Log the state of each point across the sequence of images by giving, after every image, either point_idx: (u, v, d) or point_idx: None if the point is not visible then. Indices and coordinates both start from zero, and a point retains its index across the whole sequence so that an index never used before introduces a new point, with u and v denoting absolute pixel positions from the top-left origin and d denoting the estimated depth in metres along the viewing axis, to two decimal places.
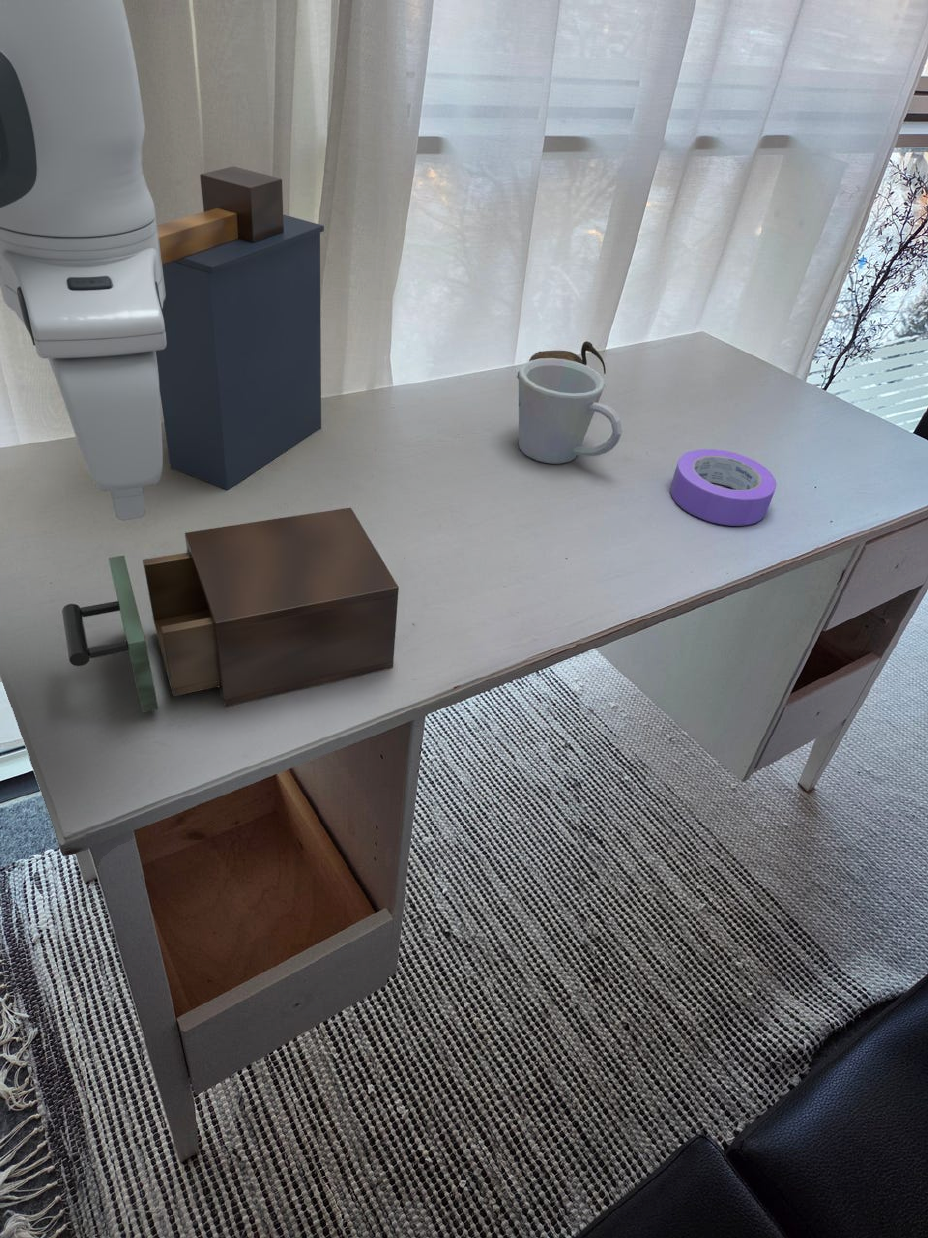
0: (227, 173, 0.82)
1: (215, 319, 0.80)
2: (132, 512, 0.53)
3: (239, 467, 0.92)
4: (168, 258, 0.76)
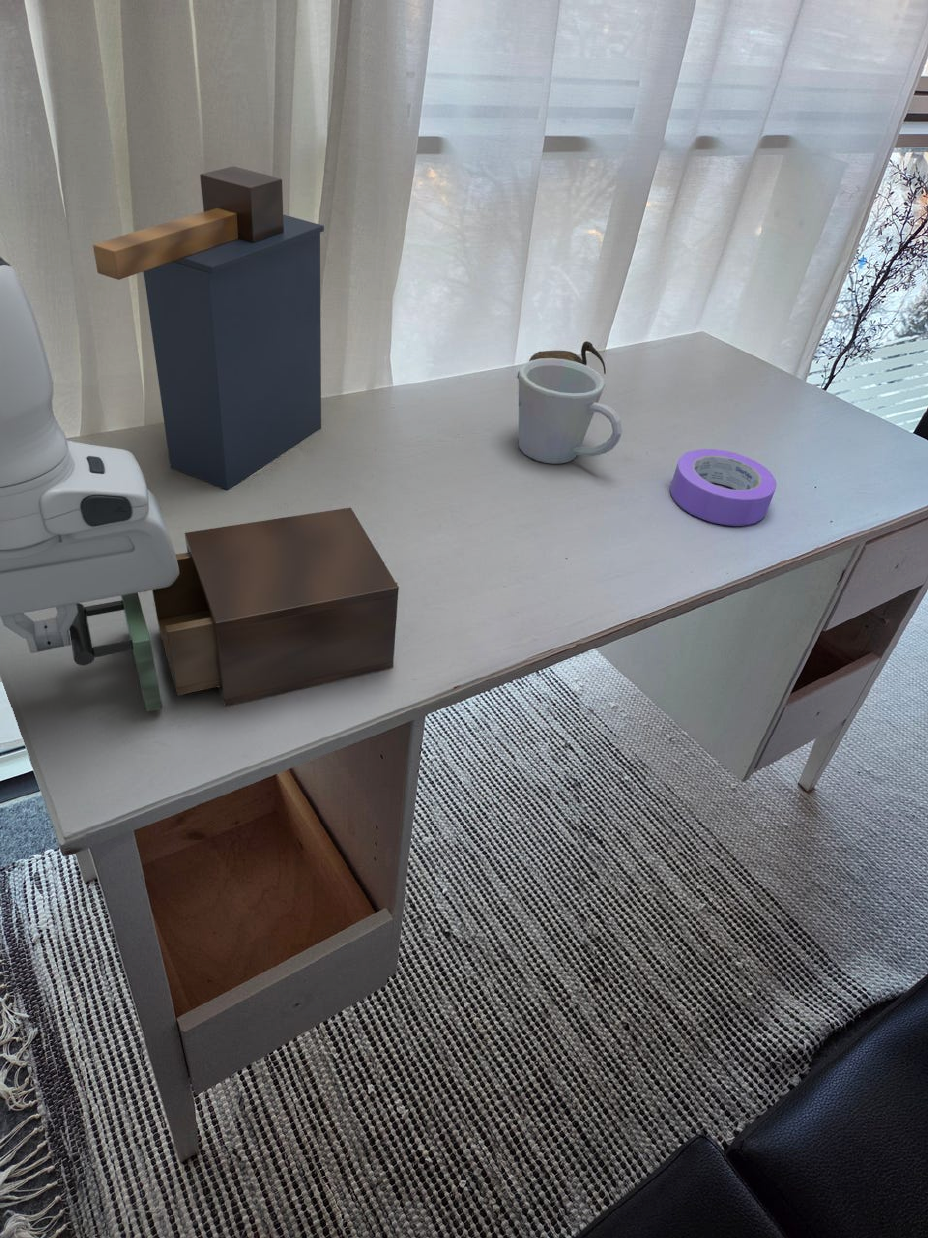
0: (227, 173, 0.82)
1: (215, 319, 0.80)
2: (69, 634, 0.65)
3: (239, 467, 0.92)
4: (168, 258, 0.76)
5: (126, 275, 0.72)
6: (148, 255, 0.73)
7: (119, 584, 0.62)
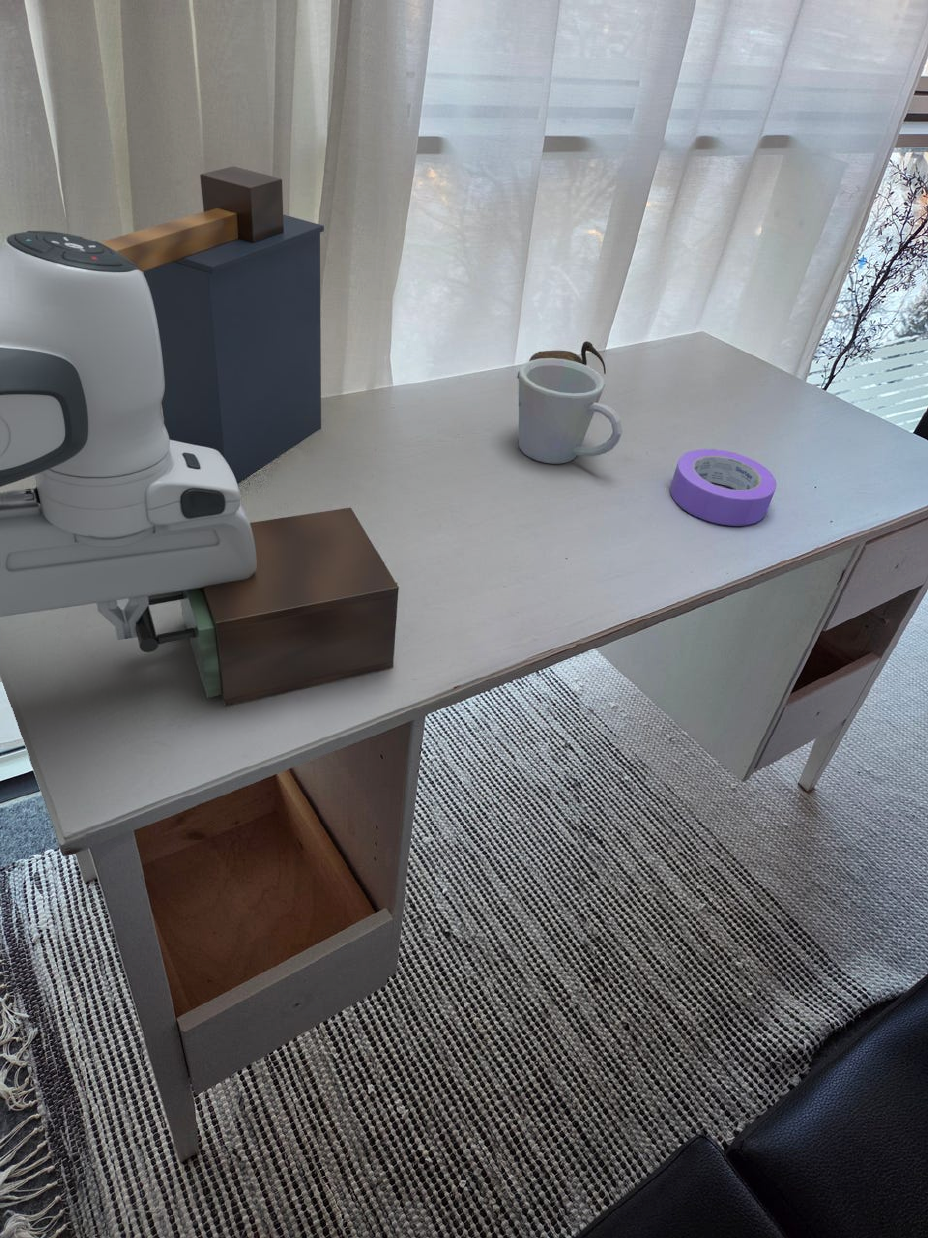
0: (227, 173, 0.82)
1: (215, 319, 0.80)
2: None
3: (239, 467, 0.92)
4: (168, 258, 0.76)
5: None
6: (148, 255, 0.73)
7: (201, 576, 0.64)
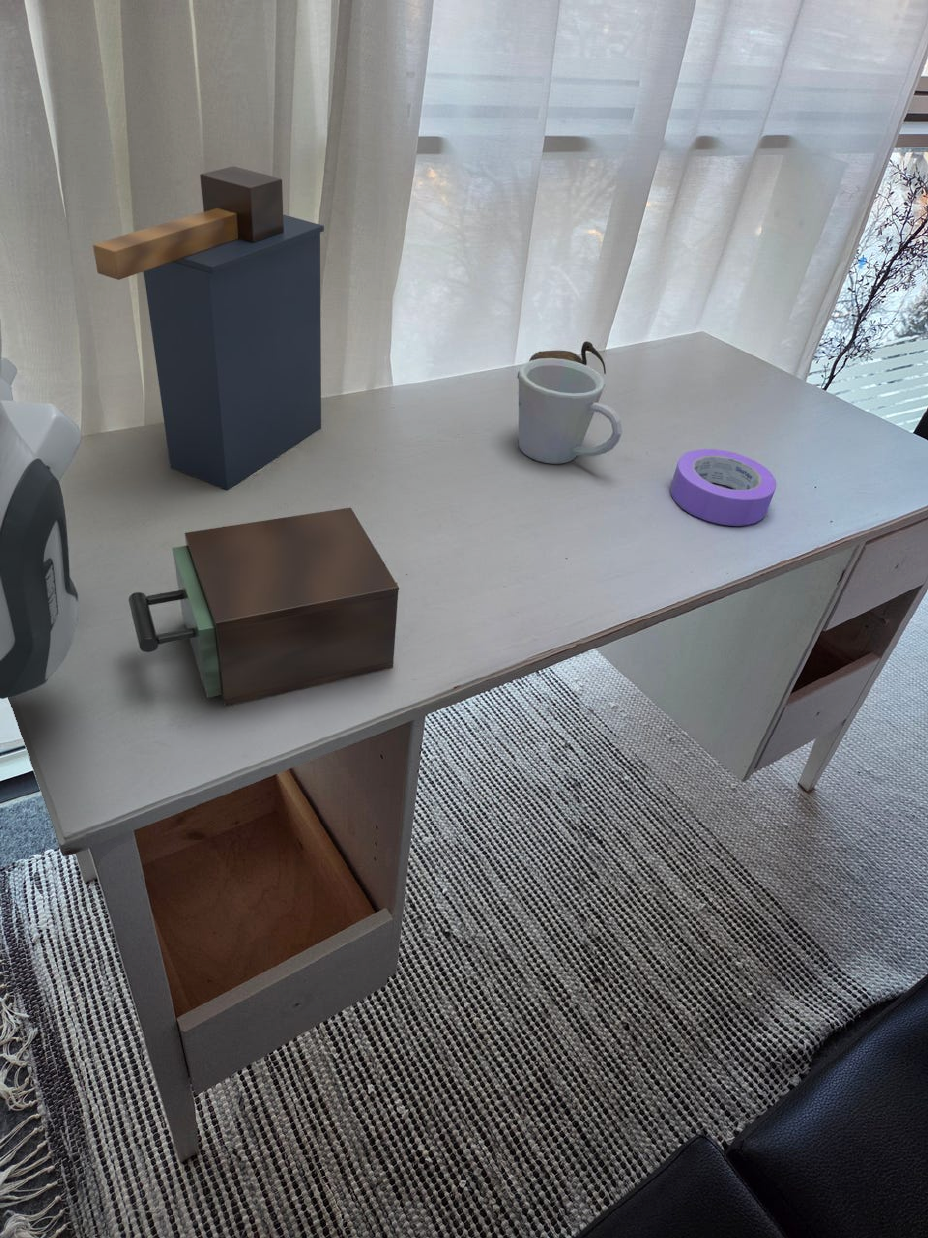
0: (227, 173, 0.82)
1: (215, 319, 0.80)
2: None
3: (239, 467, 0.92)
4: (168, 258, 0.76)
5: (126, 275, 0.72)
6: (148, 255, 0.73)
7: None
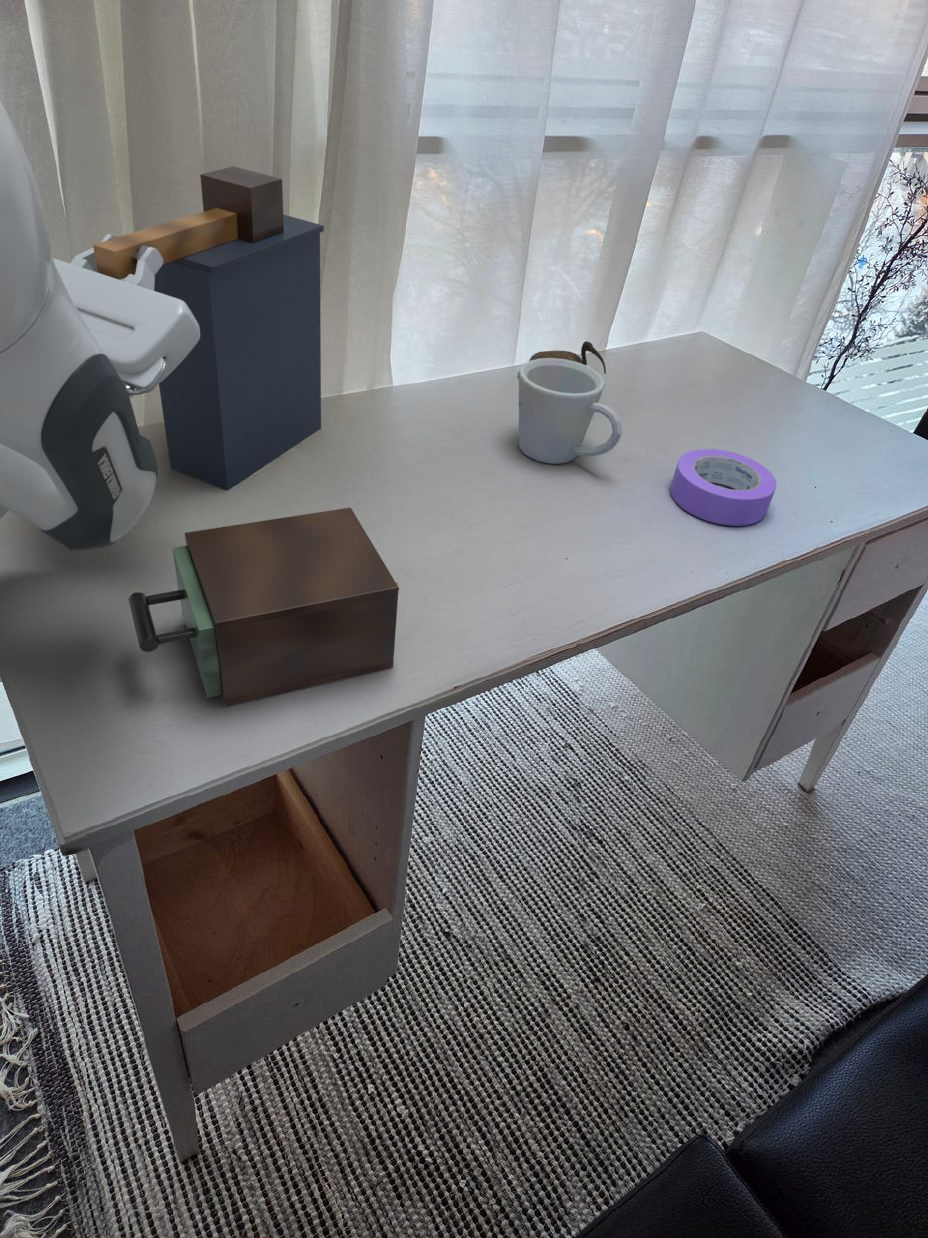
0: (227, 173, 0.82)
1: (215, 319, 0.80)
2: None
3: (239, 467, 0.92)
4: (168, 258, 0.76)
5: (126, 275, 0.72)
6: None
7: None
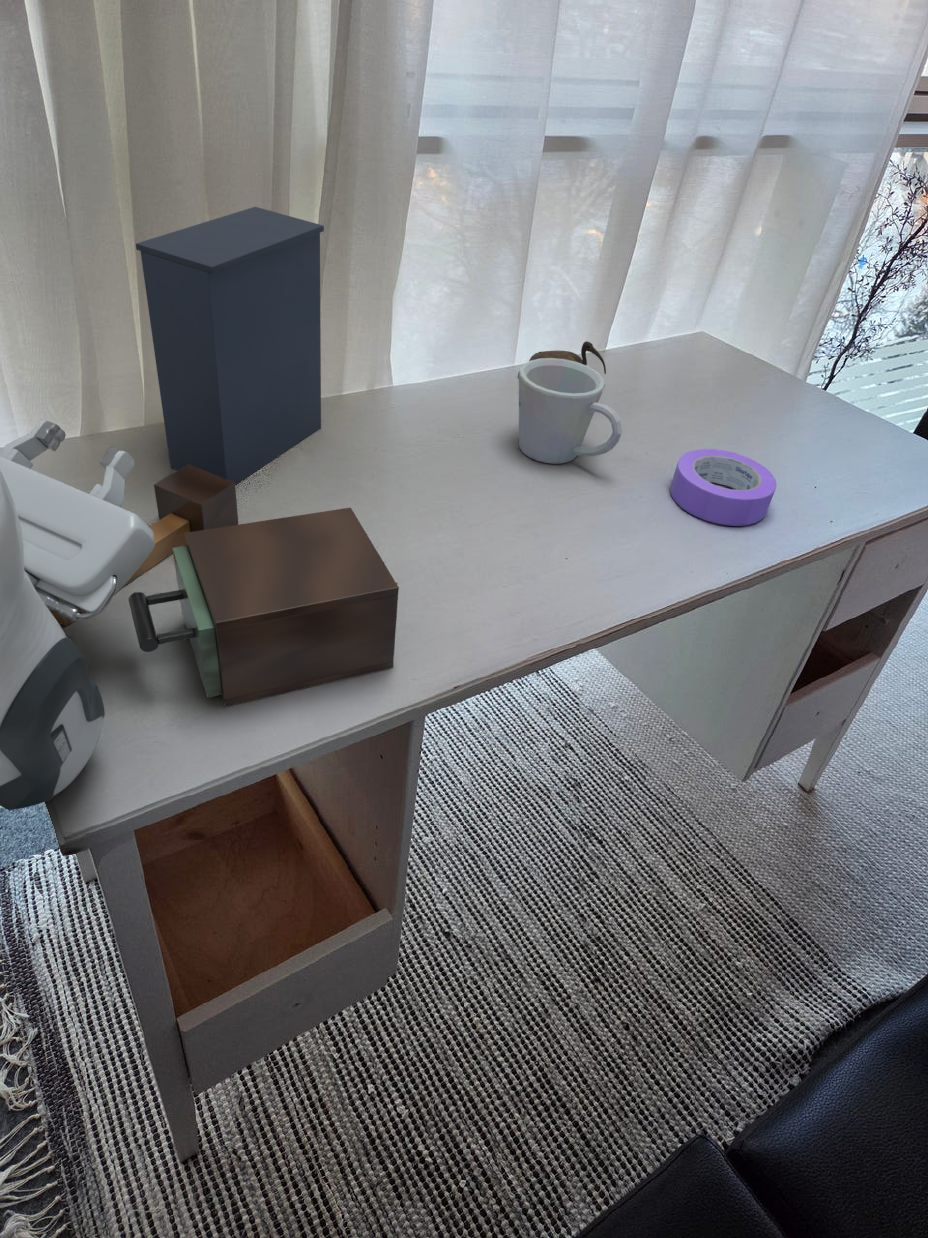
0: (181, 479, 0.84)
1: (215, 319, 0.80)
2: None
3: (239, 467, 0.92)
4: None
5: None
6: None
7: None
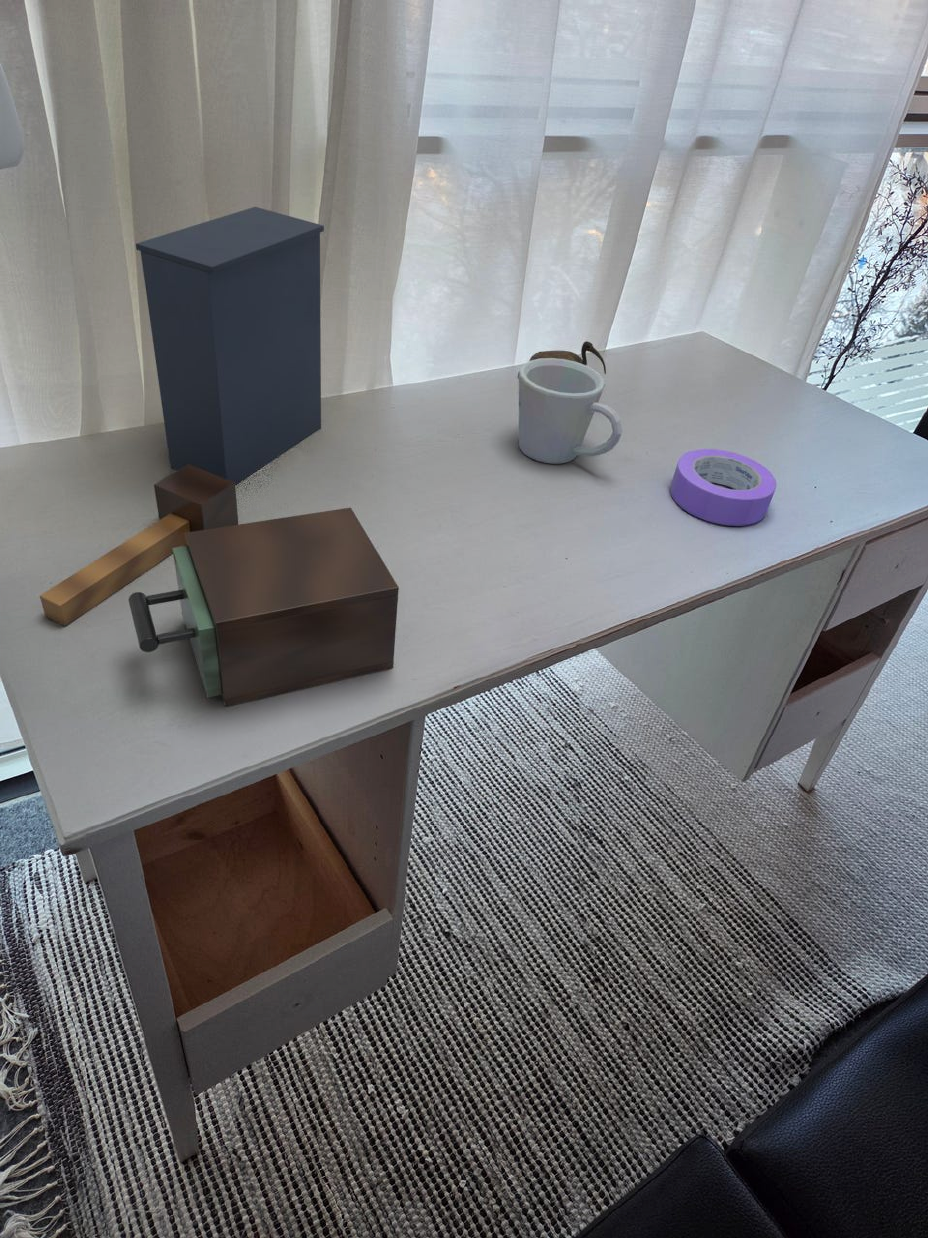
0: (181, 479, 0.84)
1: (215, 319, 0.80)
2: None
3: (239, 467, 0.92)
4: (117, 587, 0.77)
5: (73, 619, 0.74)
6: (95, 594, 0.75)
7: None
